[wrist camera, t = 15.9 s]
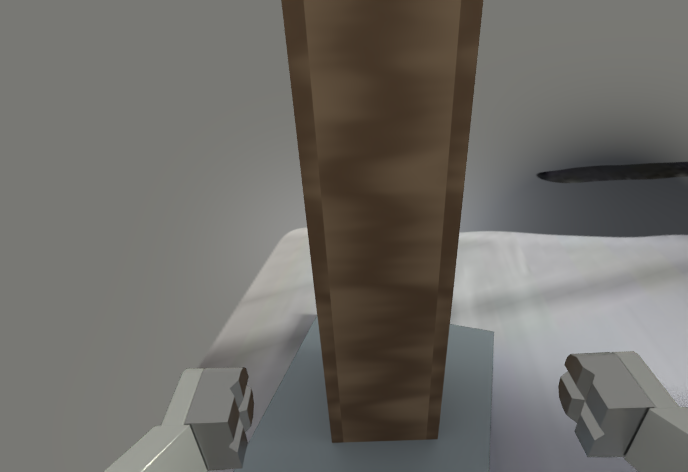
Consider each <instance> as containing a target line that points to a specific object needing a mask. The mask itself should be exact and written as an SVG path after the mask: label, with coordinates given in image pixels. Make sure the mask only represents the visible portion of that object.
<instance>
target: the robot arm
mask: <svg viewBox="0 0 688 472" xmlns="http://www.w3.org/2000/svg"><path fill="white" fill-rule="evenodd" d="M565 366H566V368H567V370H568V372H566V373H565V374H564V375H563V376H561V378H560V382H559V386H558V387H559V398H560V401H561V404H562V407H563V409H564V411H565V413H566V415H567V416H568V417H570V418H571V419H572V420H574V421H575V422H576V423H577V425H576V429H575V433H576V435H577V437H578V439H579V441H580V443H581V445H582V447H583V449H584V451H585V453H586V455H587V457H625V458H624V459H625V460H626V461H627V462H628V463H629V464H631V465H632V466H633V467H634V468H635V469H636V470H637V471H638V472H688V408H687V407H679V406H678V405H677V403H676V402H675V401H674V399H673V398H672V397H671V396H670V394H669V393H668V392H667V390H666V389H665V388H664V387H663V385H662V384H661V383H660V382H659V380H658V379H657V378H656V376H655V375H654V374H653V373H652V371H651V370H650V369H649V367H648V366H647V365H646V364H645V362H644V361H643V360H642V358H641V357H640V356H639V355H638V354H637V353H635V352H634V351H630V352H612V353H610V352H602V353H583V354H570V355H569V356H568V357H567V359H566V362H565ZM247 381H248V374H247V370H246V368H243V367H242V368H193V369H192V368H191V369H186V370H185V371H184V372H183V373H182V374H181V377H180V379H179V382H178V384H177V387H176V389H175V391H174V394H173V396H172V399H171V401H170V404H169V407H168V409H167V412H166V414H165V416H164V419H163V421H162V424H161V426H154V427H153V428H152V429H151V430H150V431H149V432H148V433H146V434H145V435H144V436H143V437H142V438H141V439H140V440H139V441H137V442H136V443H135V444H134V445H133V446H132V447H131V448H130V449H128V450H127V451H126V452H125V453H124V454H123V455H122V456H121V457H120V458H119V459H117V460H116V461H115V462H114V463H113V464H112V465H111V466H110V467H108V468H107V469H106V470H105V471H104V472H208V471H209V470H225V469H242V468H243V463H244V458H245V453H246V449H247V444H248V442H247V438H246V435H245V432H246V431H247V430H248V429H249V428H250V427H251V424H252V418H253V408H254V401H253V393H252V389H251V388H250V387H249V386H247Z"/></svg>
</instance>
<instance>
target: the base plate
mask: <svg viewBox="0 0 688 472" xmlns="http://www.w3.org/2000/svg"><path fill="white" fill-rule="evenodd" d="M493 346H494V332H493V331H487V330H481V329H476V328H470V327H464V326H458V325H453V324H450V326H449V336H448V346H447V355H446V365H445V375H444V384H443V394H442V404H441V413H440V423H439V433H438V439H432V440H402V441H373V442H343V443H332V439H331V430H330V421H329V413H328V404H327V395H326V386H325V378H324V369H323V360H322V351H321V343H320V334H319V325H318V316H316V318H315V320H314V322H313V324H312V326H311V328H310V329H309V331H308V333H307V335H306V337H305V339H304V341H303V343H302V344H301V346H300V348H299V350H298V352H297V354H296V356H295V357H294V359H293V361H292V363H291V365H290V367H289V369H288V371H287V372H286V374H285V376H284V378H283V380H282V382H281V384H280V385H279V387H278V389H277V391H276V393H275V395H274V397H273V399H272V400H271V402H270V404H269V406H268V408H267V410H266V412H265V413H264V415H263V417H262V419H261V421H260V423H259V425H258V427H257V428H256V430H255V432H254V434H253V436H252V438H251V440H250V442H249V443H248V445H247V449H246V453H245V458H244V463H243V468H242V469H235V470H234V471H233V472H489V454H490V427H491V400H492V373H493Z"/></svg>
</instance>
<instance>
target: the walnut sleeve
mask: <svg viewBox="0 0 688 472" xmlns="http://www.w3.org/2000/svg"><path fill="white" fill-rule="evenodd" d="M281 1H282V9H283V18H284V27H285V35H286V44H287V54H288V62H289V71H290V80H291V88H292V97H293V106H294V115H295V123H296V132H297V141H298V150H299V159H300V167H301V176H302V185H303V193H304V202H305V211H306V220H307V229H308V238H309V246H310V255H311V264H312V273H313V281H314V290H315V299H316V308H317V316H318V325H319V334H320V343H321V351H322V360H323V369H324V378H325V386H326V395H327V404H328V413H329V421H330V430H331V439H332V443H343V442H373V441H402V440H432V439H438V433H439V423H440V413H441V404H442V394H443V384H444V375H445V365H446V355H447V346H448V336H449V326H450V316H451V307H452V297H453V287H454V278H455V268H456V258H457V249H458V239H459V229H460V220H461V210H462V200H463V191H464V181H465V171H466V162H467V152H468V142H469V133H470V122H471V113H472V103H473V94H474V84H475V74H476V65H477V55H478V46H479V35H480V26H481V17H482V7H483V0H281Z"/></svg>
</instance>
